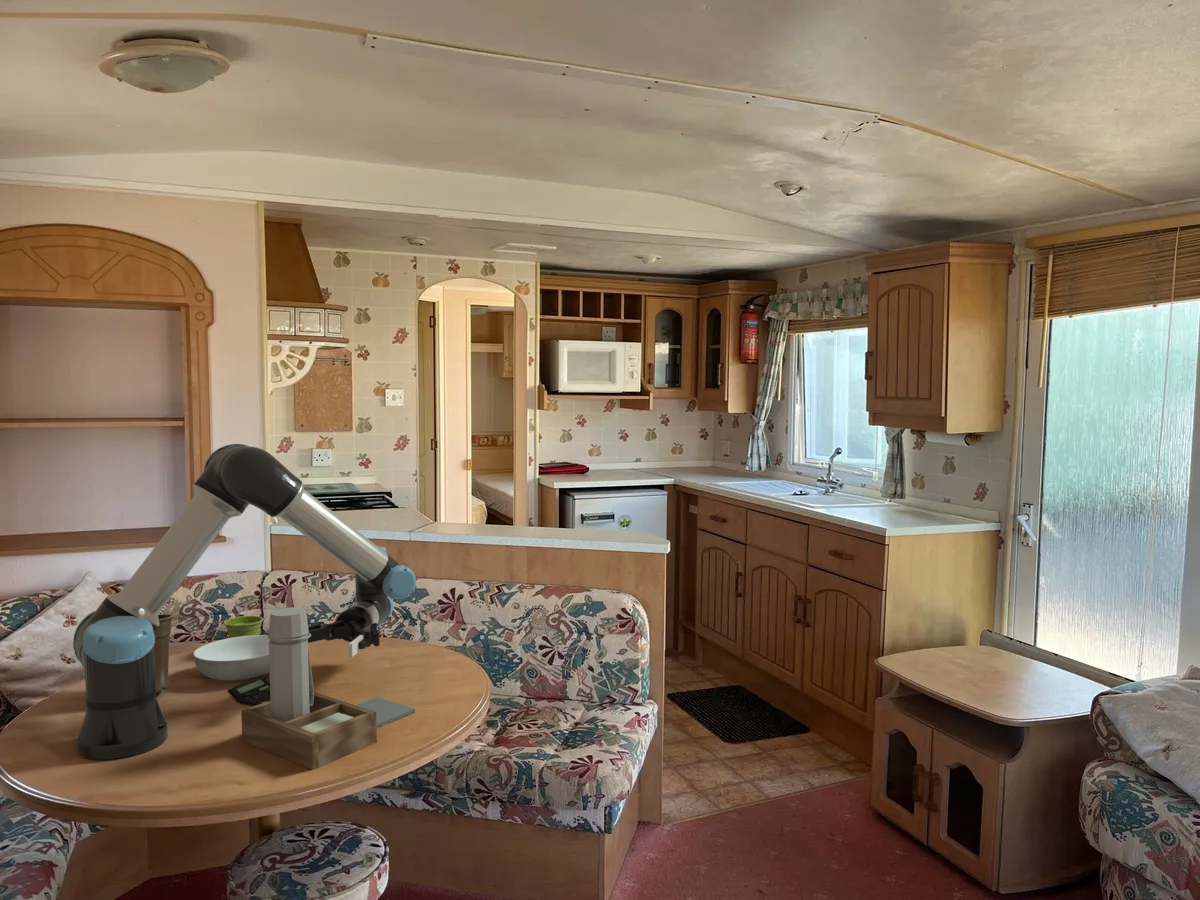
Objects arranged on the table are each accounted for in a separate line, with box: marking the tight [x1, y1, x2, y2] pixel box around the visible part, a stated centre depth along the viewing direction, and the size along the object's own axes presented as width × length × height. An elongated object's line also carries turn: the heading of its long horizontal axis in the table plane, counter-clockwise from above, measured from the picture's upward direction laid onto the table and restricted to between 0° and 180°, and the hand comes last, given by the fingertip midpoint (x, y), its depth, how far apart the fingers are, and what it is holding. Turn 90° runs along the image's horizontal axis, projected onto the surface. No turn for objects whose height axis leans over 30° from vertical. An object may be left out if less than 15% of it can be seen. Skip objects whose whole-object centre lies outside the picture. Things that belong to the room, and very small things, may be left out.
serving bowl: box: [192, 634, 270, 682], centre depth 203 cm, size 21×21×7 cm
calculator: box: [227, 675, 271, 707], centre depth 188 cm, size 9×12×3 cm
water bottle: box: [267, 606, 315, 722], centre depth 166 cm, size 9×8×25 cm
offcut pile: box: [301, 713, 354, 733], centre depth 160 cm, size 10×5×5 cm, turn 147°
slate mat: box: [355, 696, 416, 729], centre depth 177 cm, size 12×12×1 cm
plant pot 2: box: [223, 615, 264, 638], centre depth 220 cm, size 9×9×9 cm
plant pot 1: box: [154, 613, 174, 694], centre depth 189 cm, size 16×16×16 cm
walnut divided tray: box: [240, 689, 378, 771], centre depth 164 cm, size 14×22×6 cm, turn 55°
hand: (318, 649), depth 176 cm, fingers open, 13 cm apart
